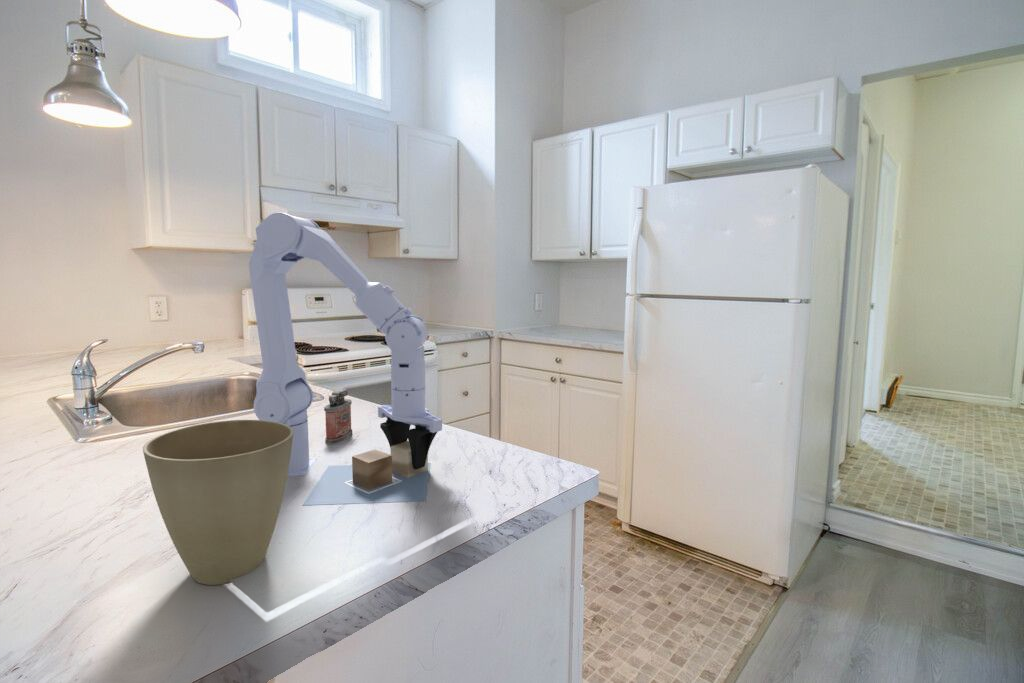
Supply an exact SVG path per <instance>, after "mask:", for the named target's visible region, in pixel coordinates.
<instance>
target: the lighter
mask: <svg viewBox="0 0 1024 683" xmlns="http://www.w3.org/2000/svg"><path fill="white" fill-rule="evenodd" d="M348 395H349V394H348V390H347V389H346V388H345V389H340V390H339V391H332V392H331V395H328V402H329V403H328V404H327V405H325V406H324V407H323V410H324V413H325V416H324V417H325V438H324V439H325V441H324V442H325V444H327V445H333V444H338V443H341V442H343V441H345V440H346V439H348V438H350V437H351V436H352V435H353V429H352V410H351V409H352V407H351V405H352V403H353V402H352V399H348V398H345V397H347V396H348Z"/></svg>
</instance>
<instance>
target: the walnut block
mask: <svg viewBox="0 0 1024 683" xmlns="http://www.w3.org/2000/svg"><path fill="white" fill-rule="evenodd" d="M351 461H352V462H351V463H352V464H351V465H352V473H353V483H354V484H357V485H359V486H361V487H363V488H366V489H368V490H371V489H374V488H377V487H379V486H382V485H385V484H387V483H390V482H392V455H391V454H389V453H387V452H383V451H380V450H378V449H371V450H369V451H365V452H362V453H359V454H355V455H352V456H351Z"/></svg>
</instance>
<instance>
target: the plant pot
mask: <svg viewBox="0 0 1024 683" xmlns="http://www.w3.org/2000/svg"><path fill="white" fill-rule="evenodd" d="M292 440H293V429H292V428H291V427H290V426H288V425H286V424H283V423H279V422H273V421H265V420H259V419H231V420H221V421H220V420H219V421H212V422H205V423H199V424H195V425H190V426H185V427H180V428H177V429H174V430H171V431H168V432H166V433H165V432H164V433H163V434H159V435H158V436H156V437H153V438H151V439H150V440H148V441H147V442H146V443H145V444H144V445H143V447H142V452H143V456H144V460H145V465H146V469H147V473H148V477H149V481H150V484H151V487H152V491H153V494H154V497H155V502H156V504H157V507H158V509H159V512H160V515H161V518H162V521H163V523H164V524H165V528H166V530H167V533H168V535H169V537H170V539H171V541H172V543H173V546H174V548H175V549H176V551H177V554H178V555H179V557H180V559H181V560H182V562H183V564H184V566H185V567H186V570H187V572H188V573H189V575H190V576H191V577H192V580H194V581H195V582H196V583H198V584H201V585H207V586H216V585H217V586H219V585H224V584H229V583H232V581H231V580H232V579H236V578H238V577H239V578H240V577H241V576H244V575H246V574H248V573H250V572H252V571H254V570H255V569H256V568H258V567H259V566H260V565H262V563H263V562H264V559H265V557H266V554H267V551H268V549H269V546H270V543H271V540H272V538H273V534H274V531H275V528H276V524H277V521H278V518H279V513H280V509H281V506H282V503H283V499H284V494H285V489H286V485H287V481H288V480H287V479H288V476H287V475H288V470H289V463H290V456H291V448H292Z"/></svg>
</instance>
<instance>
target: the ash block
mask: <svg viewBox="0 0 1024 683" xmlns="http://www.w3.org/2000/svg"><path fill="white" fill-rule="evenodd" d="M389 447H390V448H389V449H390V455H392V472H394V473H397V474H399V475H402V476H405V477H407V478H409V477H411V476H414V475H417V474H419V473H422V472H425V471H427V470H428V463H429V454H428V455H427V459H426V463H425V467H422V468H419V469H413V465H412V457H411V448H410V444H409V441H408V440H407V441H406V442H403V443H399V444H396V445H393V446H390V445H389Z"/></svg>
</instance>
